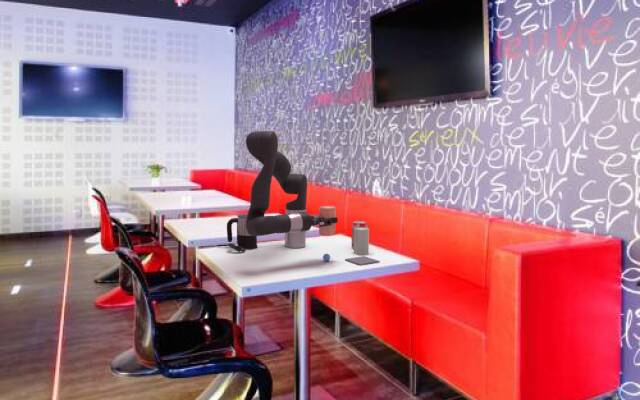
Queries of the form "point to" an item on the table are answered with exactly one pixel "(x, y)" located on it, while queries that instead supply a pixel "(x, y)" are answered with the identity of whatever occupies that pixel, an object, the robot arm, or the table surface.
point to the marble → (326, 257)
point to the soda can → (355, 224)
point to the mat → (362, 260)
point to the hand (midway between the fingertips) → (332, 218)
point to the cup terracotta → (327, 213)
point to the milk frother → (241, 234)
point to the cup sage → (361, 240)
